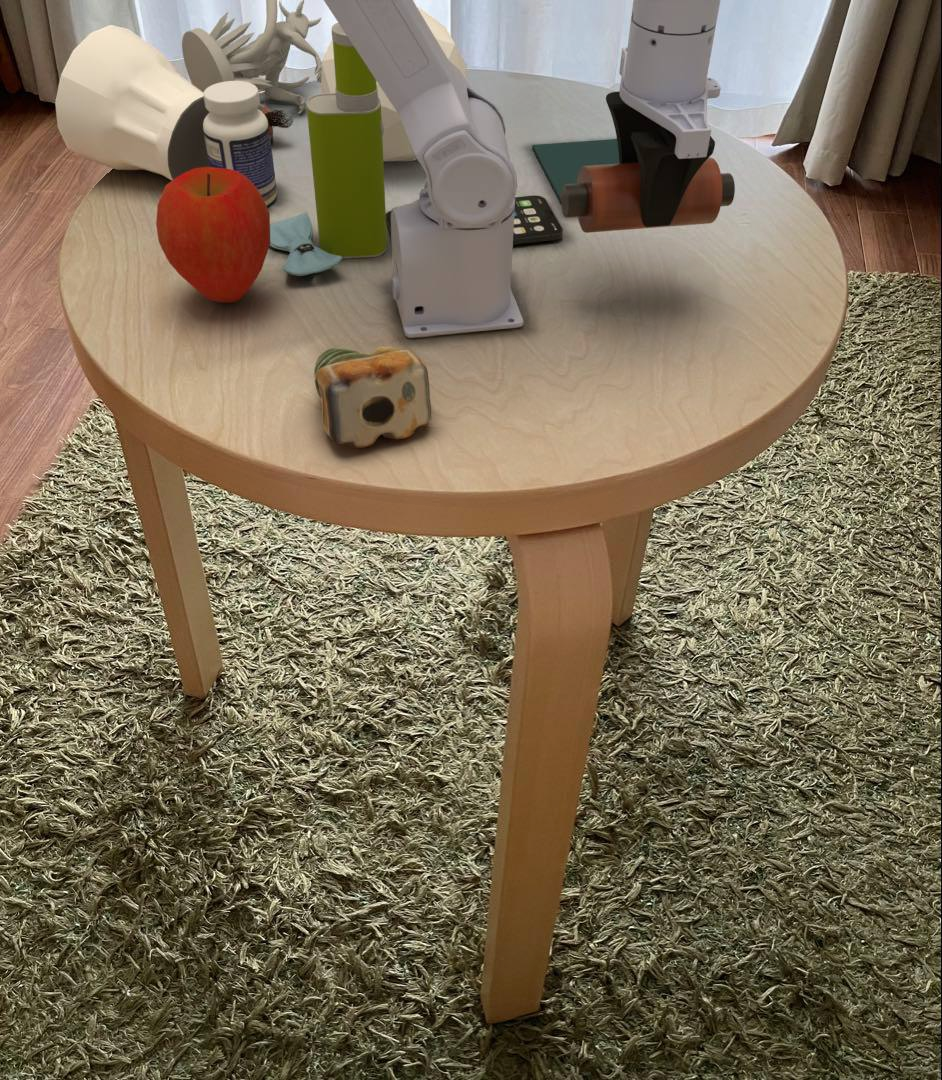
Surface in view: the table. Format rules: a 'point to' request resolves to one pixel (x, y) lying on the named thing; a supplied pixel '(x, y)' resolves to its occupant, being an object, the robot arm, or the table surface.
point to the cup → (130, 107)
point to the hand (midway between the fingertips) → (646, 207)
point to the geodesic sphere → (394, 133)
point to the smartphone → (528, 221)
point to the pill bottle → (239, 134)
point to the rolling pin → (616, 194)
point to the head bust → (276, 119)
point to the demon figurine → (250, 53)
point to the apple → (214, 231)
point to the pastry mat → (573, 159)
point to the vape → (348, 158)
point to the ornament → (372, 394)
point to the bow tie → (300, 246)
